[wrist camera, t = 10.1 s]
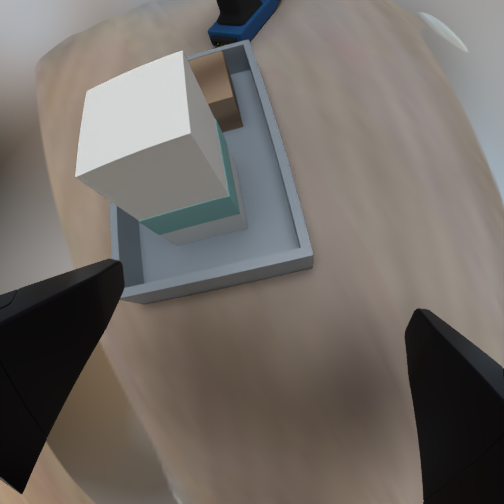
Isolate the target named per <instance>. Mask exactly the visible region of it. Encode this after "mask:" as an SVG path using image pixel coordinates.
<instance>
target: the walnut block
mask: <svg viewBox="0 0 504 504" xmlns="http://www.w3.org/2000/svg"><path fill="white" fill-rule="evenodd" d="M188 63H189V65H190V67H191V69H192V71H193V74H194V76H195V78H196V80H197V82H198V84H199V86H200V88H201V90H202V92H203V95H204V97H205V99H206V101H207V103H208V105H209V107H210V109H211V112H212V114H213V116H214V118H215V119H216V120H217V122H218V124H219V127H220V129H221V131H222V133H223V132H227V131H230V130H234V129H238V128H241V127H243V123H242V118H241V114H240V110H239V106H238V102H237V98H236V93H235V89H234V85H233V81H232V78H231V75H230V72H229V69H228V66H227V63H226V61H225V58H224V55H223V52H222V51H219V52H215V53H212V54H209V55H205V56H202V57H199V58H196V59H193V60H190V61H188Z"/></svg>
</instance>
